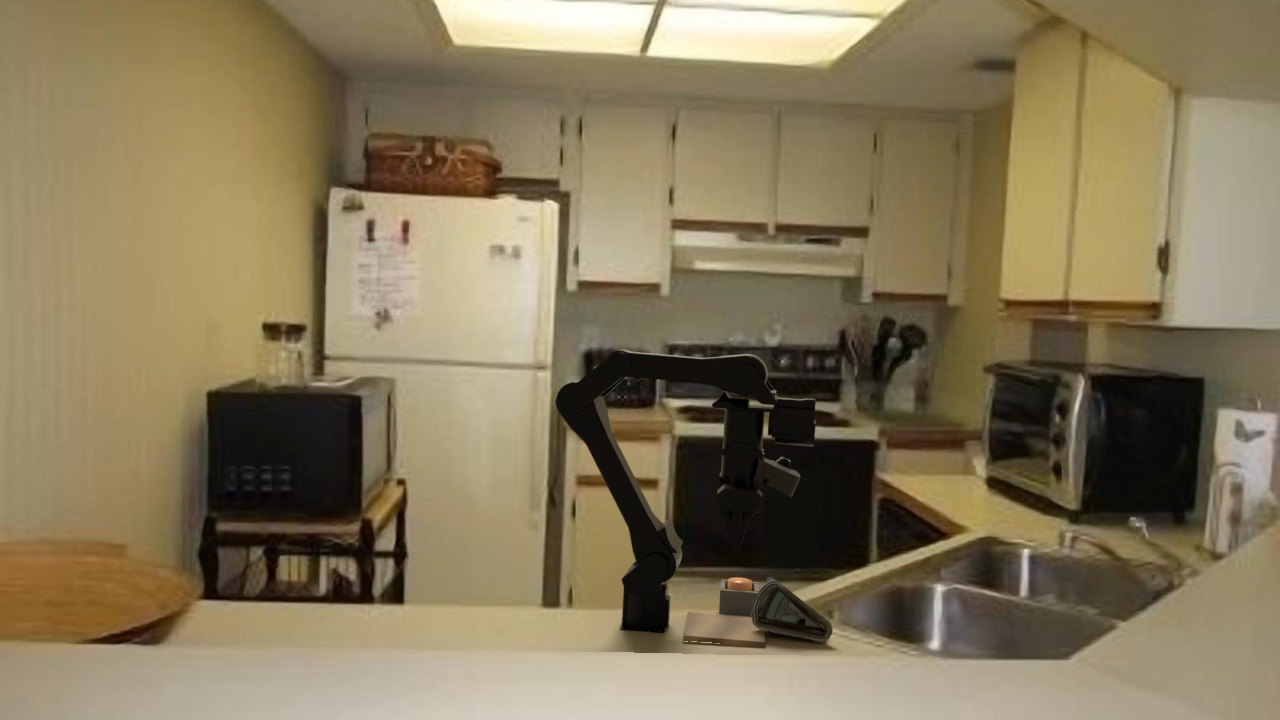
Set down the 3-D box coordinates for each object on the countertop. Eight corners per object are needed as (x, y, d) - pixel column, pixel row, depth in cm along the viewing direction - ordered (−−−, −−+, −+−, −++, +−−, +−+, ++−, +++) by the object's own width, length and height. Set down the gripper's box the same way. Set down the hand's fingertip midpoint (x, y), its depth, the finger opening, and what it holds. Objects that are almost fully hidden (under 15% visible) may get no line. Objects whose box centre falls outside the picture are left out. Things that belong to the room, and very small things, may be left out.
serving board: (682, 642, 138) (683, 635, 138) (687, 618, 149) (687, 611, 149) (764, 649, 137) (764, 642, 137) (763, 624, 148) (763, 617, 148)
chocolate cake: (842, 634, 145) (795, 566, 150) (837, 633, 138) (789, 561, 143) (789, 670, 145) (745, 601, 150) (782, 670, 139) (736, 598, 144)
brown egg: (726, 611, 152) (727, 583, 152) (726, 603, 156) (728, 576, 155) (750, 613, 152) (752, 585, 151) (750, 605, 155) (752, 578, 155)
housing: (718, 615, 151) (720, 590, 151) (719, 603, 157) (721, 579, 157) (757, 618, 150) (759, 593, 150) (757, 606, 156) (758, 582, 156)
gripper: (803, 454, 131) (795, 568, 132) (795, 436, 150) (788, 536, 151) (720, 448, 132) (712, 561, 133) (722, 431, 151) (716, 530, 152)
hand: (735, 546), depth 142 cm, fingers open, 5 cm apart
